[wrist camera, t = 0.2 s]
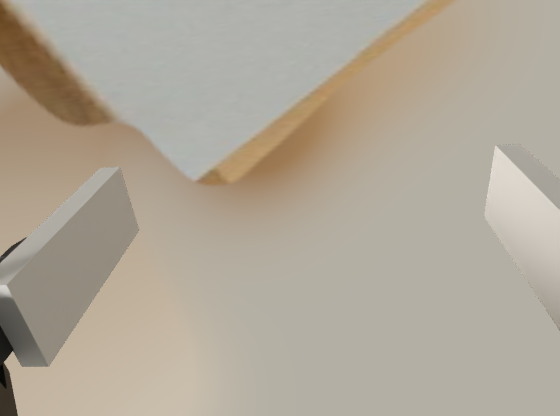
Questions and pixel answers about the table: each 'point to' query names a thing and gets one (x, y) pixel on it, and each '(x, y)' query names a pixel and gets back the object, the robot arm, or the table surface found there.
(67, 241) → the robot arm
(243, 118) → the table surface
